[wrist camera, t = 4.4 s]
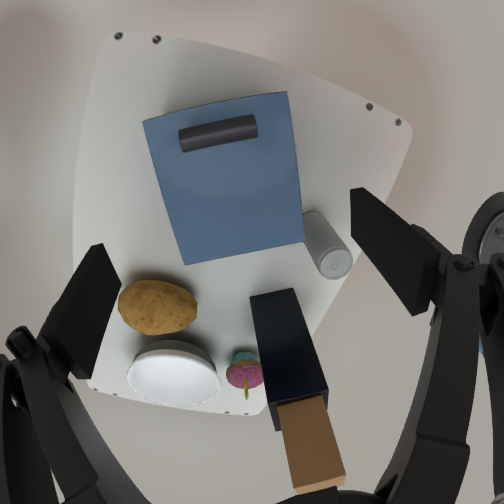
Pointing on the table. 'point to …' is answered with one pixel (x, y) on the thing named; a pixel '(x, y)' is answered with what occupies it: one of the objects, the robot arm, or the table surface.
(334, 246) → the beverage can
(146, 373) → the bowl
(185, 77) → the table surface
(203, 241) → the lid
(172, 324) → the potato
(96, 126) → the table surface
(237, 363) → the cupcake
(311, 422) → the package
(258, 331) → the stand
